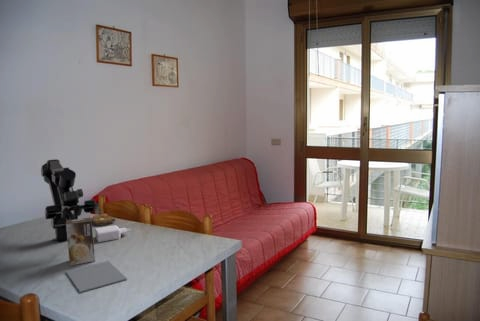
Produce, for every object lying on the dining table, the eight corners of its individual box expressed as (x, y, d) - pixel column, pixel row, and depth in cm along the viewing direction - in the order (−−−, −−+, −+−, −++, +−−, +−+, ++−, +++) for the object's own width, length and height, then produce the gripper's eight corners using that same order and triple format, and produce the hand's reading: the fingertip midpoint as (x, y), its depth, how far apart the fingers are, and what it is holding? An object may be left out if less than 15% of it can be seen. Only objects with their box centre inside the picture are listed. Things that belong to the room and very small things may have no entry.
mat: (65, 272, 134) (65, 271, 134) (108, 262, 143) (108, 260, 143) (80, 293, 118) (80, 291, 118) (126, 279, 127) (126, 278, 127)
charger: (133, 237, 173) (98, 243, 165) (128, 231, 181) (95, 237, 173) (132, 227, 172) (98, 232, 165) (127, 222, 180) (94, 227, 173)
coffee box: (94, 256, 149) (91, 216, 148) (95, 261, 144) (92, 220, 142) (69, 260, 146) (66, 219, 144) (69, 265, 140) (65, 224, 138)
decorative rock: (86, 222, 200) (97, 229, 189) (85, 215, 199) (96, 222, 188) (107, 217, 207) (119, 223, 196) (106, 210, 206) (118, 216, 195)
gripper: (43, 186, 145) (51, 219, 138) (93, 180, 156) (103, 211, 149) (41, 202, 152) (49, 235, 145) (89, 196, 163) (98, 226, 156)
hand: (75, 226), depth 148 cm, fingers closed
